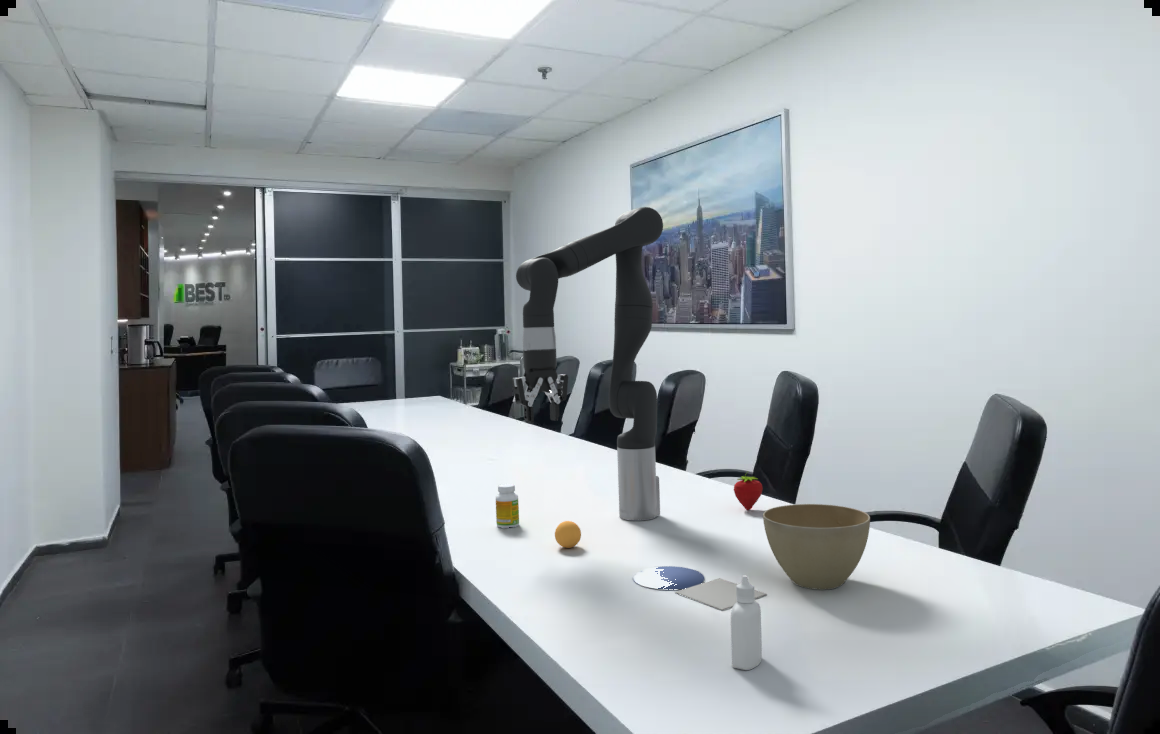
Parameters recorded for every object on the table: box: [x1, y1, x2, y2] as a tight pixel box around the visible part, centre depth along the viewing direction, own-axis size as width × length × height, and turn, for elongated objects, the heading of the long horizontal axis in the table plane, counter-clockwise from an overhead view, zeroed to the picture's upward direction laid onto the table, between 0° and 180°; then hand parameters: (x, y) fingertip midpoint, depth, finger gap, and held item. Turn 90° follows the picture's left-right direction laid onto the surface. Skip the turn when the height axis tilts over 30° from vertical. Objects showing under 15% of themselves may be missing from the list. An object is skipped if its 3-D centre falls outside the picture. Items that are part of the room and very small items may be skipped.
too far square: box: [675, 577, 768, 611], centre depth 131 cm, size 11×11×1 cm
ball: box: [554, 520, 582, 549], centre depth 163 cm, size 6×6×6 cm
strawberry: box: [733, 472, 764, 511], centre depth 190 cm, size 6×8×10 cm
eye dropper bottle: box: [730, 574, 763, 671], centre depth 104 cm, size 4×6×12 cm
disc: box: [655, 565, 705, 591], centre depth 141 cm, size 13×13×1 cm
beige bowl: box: [762, 503, 871, 590], centre depth 136 cm, size 18×18×12 cm
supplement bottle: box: [495, 483, 520, 529], centre depth 183 cm, size 5×5×10 cm
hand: (542, 421), depth 174 cm, fingers open, 6 cm apart
